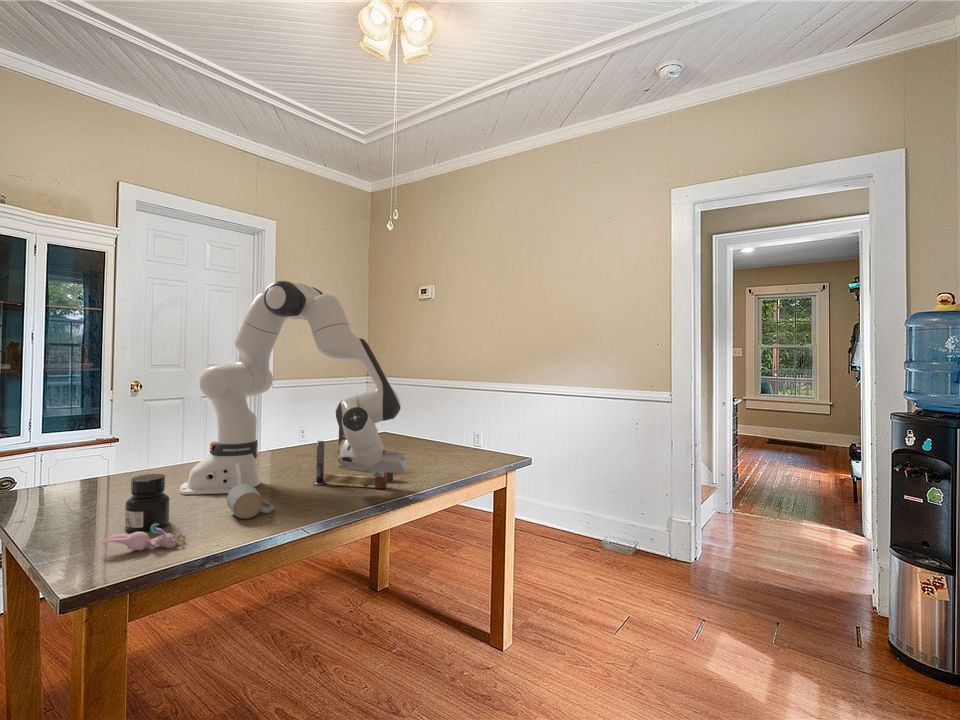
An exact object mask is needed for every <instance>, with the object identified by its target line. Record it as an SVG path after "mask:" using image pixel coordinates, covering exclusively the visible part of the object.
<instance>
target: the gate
mask: <svg viewBox="0 0 960 720" xmlns="http://www.w3.org/2000/svg"><path fill="white" fill-rule="evenodd" d="M324 482H326V483H329V484H330V483H333V484H347V485H348V484H349V485H361V486H363V487H366V488H367V487H368V486H374V487H375V488H376V489H386V488H387V486H388V485H387V484H388V482H387V472H384V476H383V477H374V476H364V475H363V476H361V475H347V474H330V473H324Z"/></svg>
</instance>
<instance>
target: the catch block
mask: <svg viewBox="0 0 960 720" xmlns="http://www.w3.org/2000/svg"><path fill="white" fill-rule="evenodd" d="M387 481H394V473H391V472H387Z"/></svg>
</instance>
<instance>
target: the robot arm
mask: <svg viewBox="0 0 960 720" xmlns="http://www.w3.org/2000/svg"><path fill="white" fill-rule="evenodd" d="M287 319H291V320H303V321H307V322H308V324H309V326H310V330H311V333H312V337H313V339H314V342H315V344H316V345H315V346H316V347H317V349H318V351H319V352H320V353H321V354H322V355H324V356H326V357H328V358H331V359H335V360H346V361H347V360H349V361H350V360H351V361H357V362H359V363H361V364H363V365H364V366H365V368H366V370H367V372H368V374H369V376H370V378H371V380H372V381H373V383H374V385H375V388H374V389H373V390H369V391H366V392H363V393H360V394H355V395H352V396H350V397H347V398H345V399H342V400H340V402H339V403H338V404H337V407H336V409H335V418H336V421H337V425H338V428H339V427H340V429H341V432H342V433H343V434H344V435H345V437H346V439H347V440H345V442H344V443H343V446H342V448H341V451H340V454H339V459H340V464H341V466H342V467H341V468H342V469H344V470H346V471H356V472H357V471H358V472H369V473H370V474H372V475H373V477H383V476H384V472H391V473H393V474H394V473H395V474H405V472H407V468H408V463H409V462H408V459H406V456H405V453H402V452H401V451H399V450H391V449H389V450H388V449H385V446H384V443H383V441H382V438H381V436H380V435H379V431H378V428H377V426H376V424H377V423H380V422H384V421H389V420H393V419H395V418H396V417H397V416H398V414H399V413H400V411H401V401H400V397H399V396H398V394H397V392H396V391H395V389H394V388H393V387H392V385H390V382H389V380H388V378H387V376H386V374H385V373H384V370H383V369H382V366H381V365H380V363H379V361H378V359H377V357H376V355H375V353H373V350H372V349H371V347H370V345H369V344H368V342H367V341H366V340H365V339H364V338H360V337H358V336H357V335H356V334H355V333H354V332H353V330H352V328H351V326H350V322H349V320H348V317H347V315H346V312H345V310H344V308H343V306H342V304H341V303H340V301H339V300H338V298H337V297H336V296H335V295H333V294H324V293H323V291H321V290H320V289H318V288H315V287H312V286H309V285H306V284H304V283H300V282H299V283H298V282H290V281H287V280H278V281H273V282H271V283H270V284H268V286H266V288H265V291H264V292H260V293H258V294H257V295H256V296H255V297H254V299H253V300H252V302H251V304H250V305H249V307H248V309H247V311H246V313H245V315H244V317H243V319H242V322H241V324H240V327H239V329H238V331H237V334H236V336H235V338H234V346H235V348H236V349H237V350H238V356H237V357H238V358H237V361H236V362H235V363H221V364H216V365H214V366H211V367H208V368H206V369H204V370H203V372H202V373H201V375H200V378H199V387H200V391H201V392H202V394H203V395H204V396H206V397H207V398H208V400H210V402H211V404H212V406H213V408H214V410H215V414H216V419H217V420H216V421H217V441H215V440H213V441H212V442H210V444H209V453H210V454H209V455H207V456H206V457H205V458H204V459H202V460H201V461H198V463H196V464H195V465H194V466H193V467H192V469H191V470H190V472H189V474H188V480H187V481H185V482H183V483H182V484H181V485H180V487H179V493H180V494H181V495H208V494H209V495H210V494H211V495H212V494H213V495H214V494H229V492H230V491H231V489H232V488H234V487H235V486H237V485H240V484H250V485H252V486H253V487H254V488H256V487H257V486H259V485H261V484H262V482H261V478H260V475H259V471H258V461H257V458H258V455H259V453H258V452H259V443H258V439H257V422H258V421H257V420H258V419H257V416H256V414H255V413H254V412H253V411H251V410H250V408H249V405H248V402H247V398H250V397H257V396H258V395H261V394H263V393H265V392H267V391H269V390H270V388H272V385H273V379H274V378H273V374H272V371H271V370H270V359H271V354H272V352H273V348H274V347H275V344H276V342H277V339H278V336H279V334H280V332H281V329H282V328H283V327H282V326H283V324H284V322H285V321H286V320H287Z"/></svg>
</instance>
